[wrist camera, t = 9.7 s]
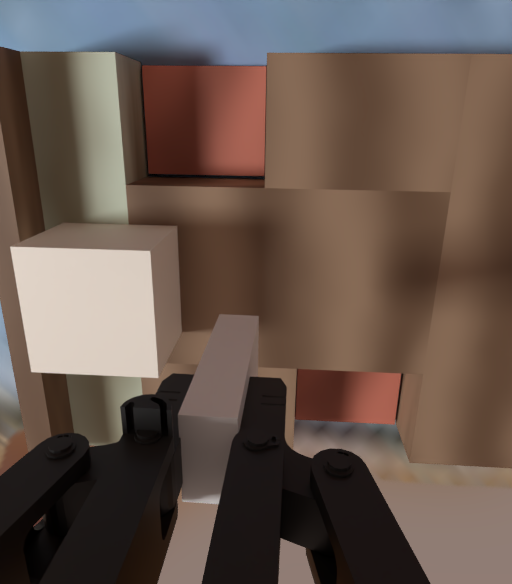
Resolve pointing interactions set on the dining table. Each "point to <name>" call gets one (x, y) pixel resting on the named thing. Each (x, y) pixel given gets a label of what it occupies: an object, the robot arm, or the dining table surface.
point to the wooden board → (287, 228)
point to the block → (100, 298)
